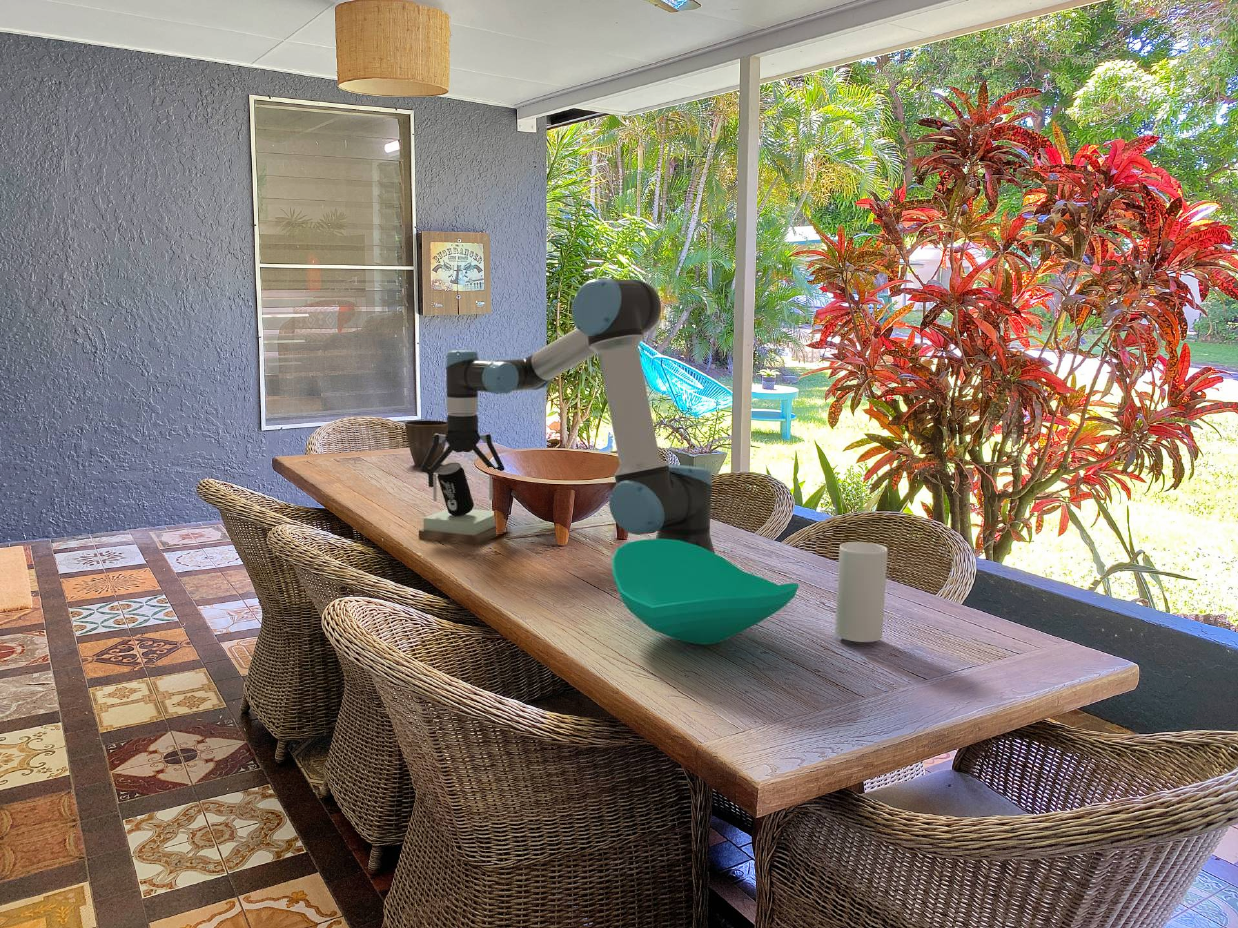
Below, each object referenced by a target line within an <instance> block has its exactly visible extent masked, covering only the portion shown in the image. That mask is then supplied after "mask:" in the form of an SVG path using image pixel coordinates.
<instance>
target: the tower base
mask: <svg viewBox="0 0 1238 928" xmlns="http://www.w3.org/2000/svg"><path fill="white" fill-rule="evenodd" d="M496 529H497V528H496V526H495V527H493V528H490V529H488V530H486V531H484V532H481V533H479V534H477V535H465V534H456V533H447V532H438V531H429V530H424V528H422V529H420V530H418V539H419V540H421V539H422V540H427V541H428V540H429V541H438V542H446V543H453V544H460V543H461V544H462V545H470V546H476V545H477V547H478V546H479V545H482V544H484V543H487V542H488V541H491V540H492V538H493V539H494V537H495V536H496ZM506 530H507V531H508V526H507V527H506ZM495 538H496V537H495Z"/></svg>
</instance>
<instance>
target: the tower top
mask: <svg viewBox="0 0 1238 928" xmlns="http://www.w3.org/2000/svg"><path fill="white" fill-rule="evenodd" d="M494 511H495V510H485V509H475V508H473V509H472V510H471V511H470V512H469V513H467V514H465V515H462V516H453V515H451V514H450V513H449V512H448V510H447V508H446V509H443V510H441V511H438V512H435V513H433V514H430V515H428V516H425V517H423V529H424V530H429V531H438V532H447V533H456V534H465V535H477V534H479V533H481V532H484V531H486V530H488V529H490V528H493V527H495V526H496V524H495V516H494Z"/></svg>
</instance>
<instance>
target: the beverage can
mask: <svg viewBox="0 0 1238 928" xmlns="http://www.w3.org/2000/svg"><path fill="white" fill-rule="evenodd" d="M437 480H438V483H439V486H440V490H441V493H442V497H443V500H444V504H445V506H446V509H447V510H448V512H449V513H450V514H451V515H453V516H462V515H465V514H467V513H469V512H470V511H471V510H472V509H474V506H475V504H474V503H475V502H474V499H473V496H472V493H471V489H470V485H469V483H468V479H467V476H466V472H465V469H464V468H463V467H462V466H461V464H460V462H456V461H454V462H448V463H446V464H443V465H440V466H439V467H438V468H437Z"/></svg>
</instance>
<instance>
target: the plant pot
mask: <svg viewBox="0 0 1238 928" xmlns="http://www.w3.org/2000/svg"><path fill="white" fill-rule="evenodd" d="M404 426H405V433H406V439H407V444H408V447H409V451H410V454H411V458H412V461H413V463H414V466H416V467H419V468H421V466H422V464H423V462H424V460H425V458H426V456H427V454H428V452H429V450H430V448H431V446H432V444H433V442H434V435H435V434H436V433H438V434H439V435H446V434H447V421H444V420H431V419H430V420H428V419H426V420H424V419H423V420H409V421H405V422H404ZM446 444H447V442H446V440H443V441H442V443H439V444H438V447H437V449H436V451H435V453H434V455H433V457H432V459H431V461H430V463H429V465H428V468H430V467H431V466H432V465H433V464H434V463H435V461H436V460H437V459H438V458H439V457H440V456H441V454H442V453H443V452H444V451H445V449H446Z"/></svg>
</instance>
